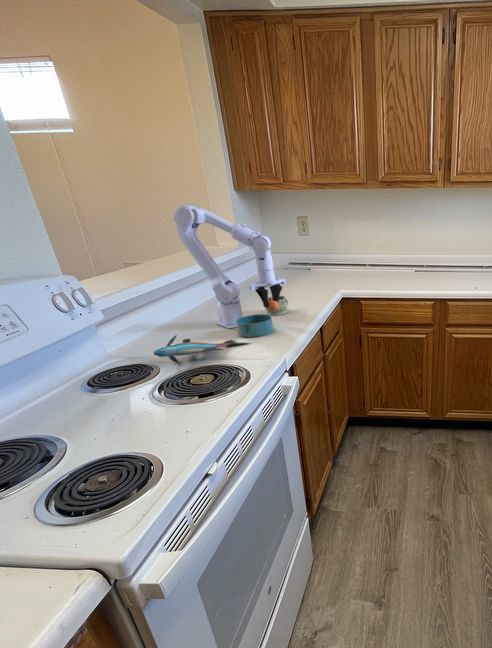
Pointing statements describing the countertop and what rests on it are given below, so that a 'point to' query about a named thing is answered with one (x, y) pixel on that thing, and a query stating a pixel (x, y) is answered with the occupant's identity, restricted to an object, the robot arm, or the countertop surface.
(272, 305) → the toy fish
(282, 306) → the vessel
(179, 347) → the fish
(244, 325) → the teal pet bowl
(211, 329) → the countertop surface
